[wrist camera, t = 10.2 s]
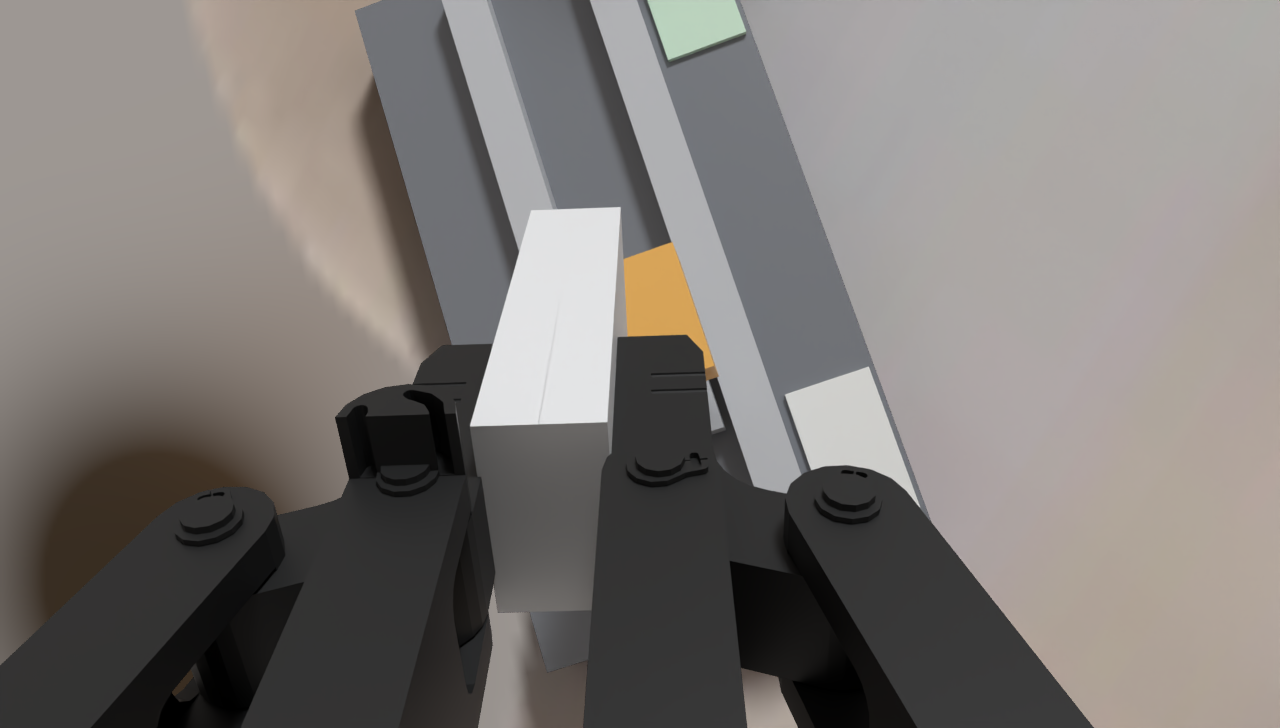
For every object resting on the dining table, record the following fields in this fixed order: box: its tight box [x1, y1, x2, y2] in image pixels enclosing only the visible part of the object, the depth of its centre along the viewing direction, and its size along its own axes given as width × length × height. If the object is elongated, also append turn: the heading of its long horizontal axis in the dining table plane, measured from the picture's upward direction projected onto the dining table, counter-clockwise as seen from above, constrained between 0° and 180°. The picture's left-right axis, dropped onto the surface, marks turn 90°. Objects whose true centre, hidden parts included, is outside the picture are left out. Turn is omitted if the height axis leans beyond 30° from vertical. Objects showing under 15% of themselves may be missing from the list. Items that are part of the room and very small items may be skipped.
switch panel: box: [355, 0, 931, 673], centre depth 36 cm, size 26×14×4 cm, turn 18°
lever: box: [623, 242, 726, 435], centre depth 28 cm, size 4×4×12 cm
